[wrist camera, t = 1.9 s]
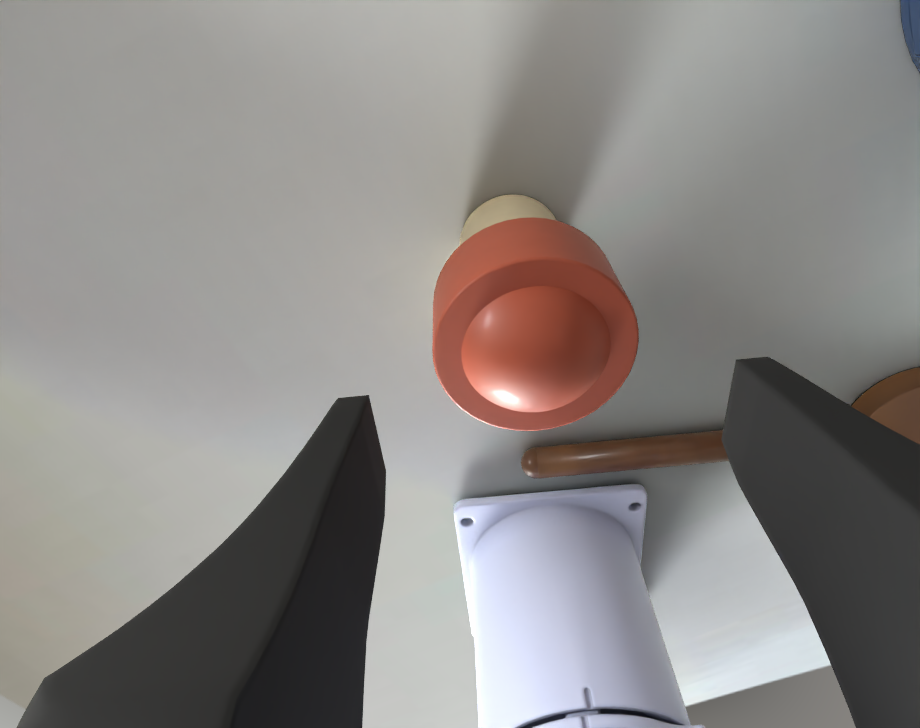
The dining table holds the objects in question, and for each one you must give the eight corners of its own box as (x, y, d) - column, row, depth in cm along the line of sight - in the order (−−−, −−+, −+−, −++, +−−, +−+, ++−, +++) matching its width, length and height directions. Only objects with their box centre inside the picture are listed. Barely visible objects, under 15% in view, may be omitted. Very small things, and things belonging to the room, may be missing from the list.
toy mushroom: (584, 301, 21) (644, 449, 15) (443, 316, 21) (445, 467, 15) (586, 158, 18) (660, 266, 12) (425, 176, 19) (417, 291, 12)
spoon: (995, 359, 23) (1020, 377, 22) (948, 459, 26) (969, 480, 25) (516, 404, 23) (520, 424, 22) (522, 498, 26) (525, 519, 25)
